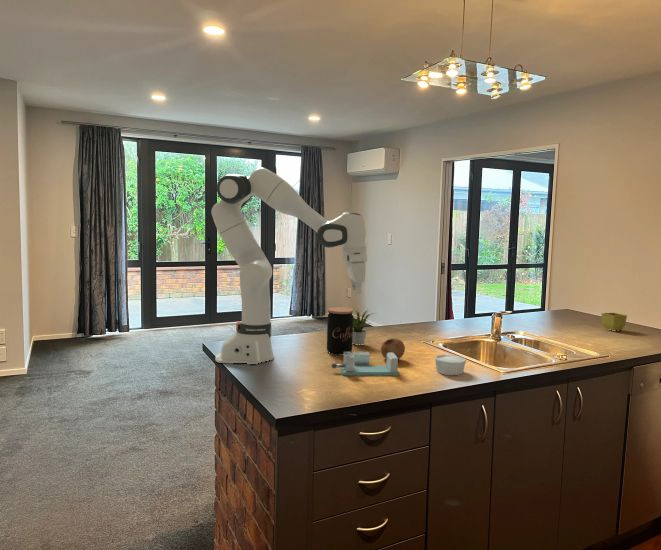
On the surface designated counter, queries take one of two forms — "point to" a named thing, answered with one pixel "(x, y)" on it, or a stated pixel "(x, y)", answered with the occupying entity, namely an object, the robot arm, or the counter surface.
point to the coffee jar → (339, 330)
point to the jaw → (346, 362)
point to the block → (361, 358)
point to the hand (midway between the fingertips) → (356, 291)
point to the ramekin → (450, 364)
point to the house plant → (359, 328)
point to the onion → (393, 347)
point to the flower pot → (613, 321)
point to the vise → (376, 368)
